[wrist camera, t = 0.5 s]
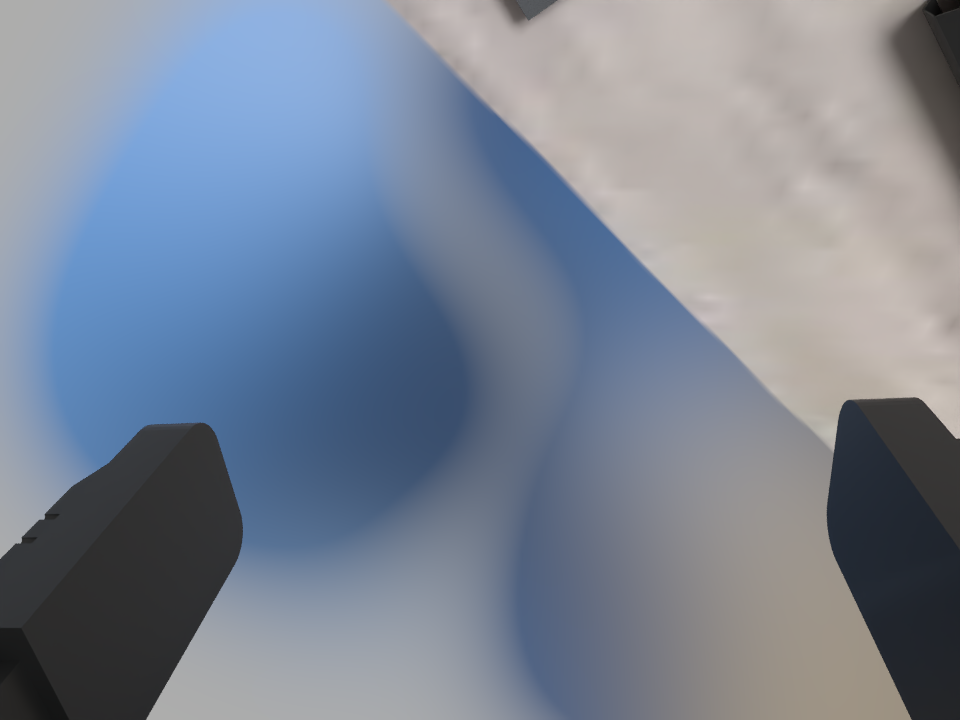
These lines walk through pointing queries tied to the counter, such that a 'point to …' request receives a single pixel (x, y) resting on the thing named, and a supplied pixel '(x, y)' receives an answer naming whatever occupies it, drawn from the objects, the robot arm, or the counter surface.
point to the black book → (946, 33)
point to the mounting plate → (533, 6)
